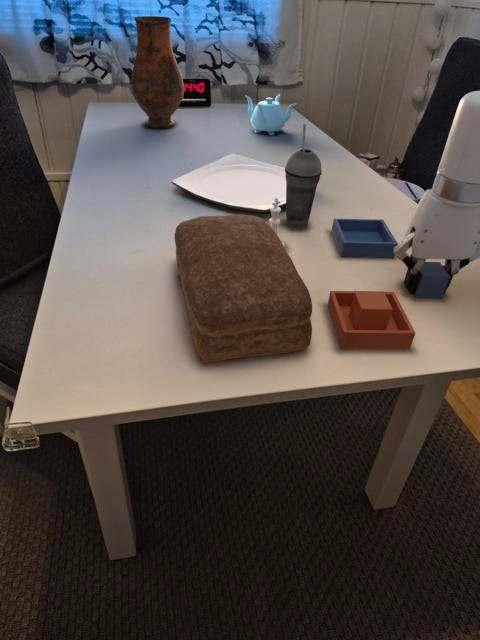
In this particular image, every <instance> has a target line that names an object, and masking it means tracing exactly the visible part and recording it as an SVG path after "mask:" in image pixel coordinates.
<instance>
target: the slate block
mask: <svg viewBox="0 0 480 640" xmlns="http://www.w3.org/2000/svg"><path fill="white" fill-rule="evenodd" d="M443 266H444V265H443V264H442V263H441V261H425V262H424V264H423V266H422V267H421V269H420V270H419V274H420V279H419V282H418V285H417V287H416V290H415V293H414V294H412V295H413V297H414V299H431V300H432V299H436V300H439V299H440V300H441V299H442V298H443V296H444V295H443V293H444V291H445V288H446V286H447V283H448V280H449V278H450V275H449V274H448V273H447V271H446V270H445V269H444V267H443Z"/></svg>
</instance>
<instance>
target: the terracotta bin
mask: <svg viewBox="0 0 480 640" xmlns="http://www.w3.org/2000/svg"><path fill="white" fill-rule="evenodd" d="M354 291H355V290H330V292H329V295H328V300H327V306H326V307H327V310H328V314H329V317H330V320H331V324H332V327H333V331H334V333H335V337H336V340H337V343H338V346H339V349H341V350H346V349H347V350H406V351H407V350H411V347H412V345H413V342H414V339H415V336H416V331H415V330H414V328H413V326H412V323H411V322H410V319H409V318H408V316H407V314H406V312H405V310H404V308H403V306H402V304H401V302H400V300H399V299H398V296H397V294H396V293H395V291H384V292H385V294H386V296H387V299H388V301H389V303H390V305H391V307H392V309H393V310H392V313H391V316H390V320H389V323H388V326H387V329H386V330H354V327H353V325H352V322H351V319H350V316H349V312H350V308H351V304H352V299H353V295H354Z"/></svg>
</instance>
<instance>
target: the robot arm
mask: <svg viewBox="0 0 480 640" xmlns="http://www.w3.org/2000/svg"><path fill="white" fill-rule="evenodd" d="M479 242H480V90H475V91H470V92H468V93H466V94H465V95H463V96H462V97H461V99H460V101H459V103H458V106H457V108H456V112H455V114H454V118H453V121H452V123H451V126H450V130H449V133H448V137H447V140H446V143H445V146H444V149H443V152H442V156H441V158H440V162H439V165H438V168H437V171H436V174H435V178H434V181H433V184H432V187H431V188H430V189H426V190H425V191H424V192H423V194H422V196H421V197H420V199H419V201H418V203H417V206H416V208H415V210H414V211H413V214H412V217H411V219H410V221H409V224H408V226H407V230H406V233H405V235H404V238H403V239H402V240H401V241H400V242H398V245H397V246H396V247H395V248H394V249H393V253H394V255H395V256H394V257H395V258H397V259H398V260H400V261H401V262H402V263H403V264H404V265H405V267H406V268H407V269H406V273H405V276H404V279H403V286H404V288H406V290H407V292H408V293H409V295H413V294H414V293H415V290H416V287H417V285H418V282H419V279H420V274H419V270H420V269H421V267H422V266H423V264H424V262H427V260H444V265H442V266H443V267H444V269H445V270H446V271H447V273H448V274H449V275H450V278H449V280H448V283H447V286H446V288H445V291H444V293H443V296H445V295H446V292H447V290H448V289H449V287H450V285H451V283H452V280H453V278H454V276H456V275H458V274H459V273H460V271H461V270H462V269H463V268H465V267H466V266H468V265H469V264H470V263H472V262H474V261H476V260H478V259H480V244H479ZM409 249H411V253H410V255H409V254H408V253H407V251H408V250H409Z"/></svg>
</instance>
